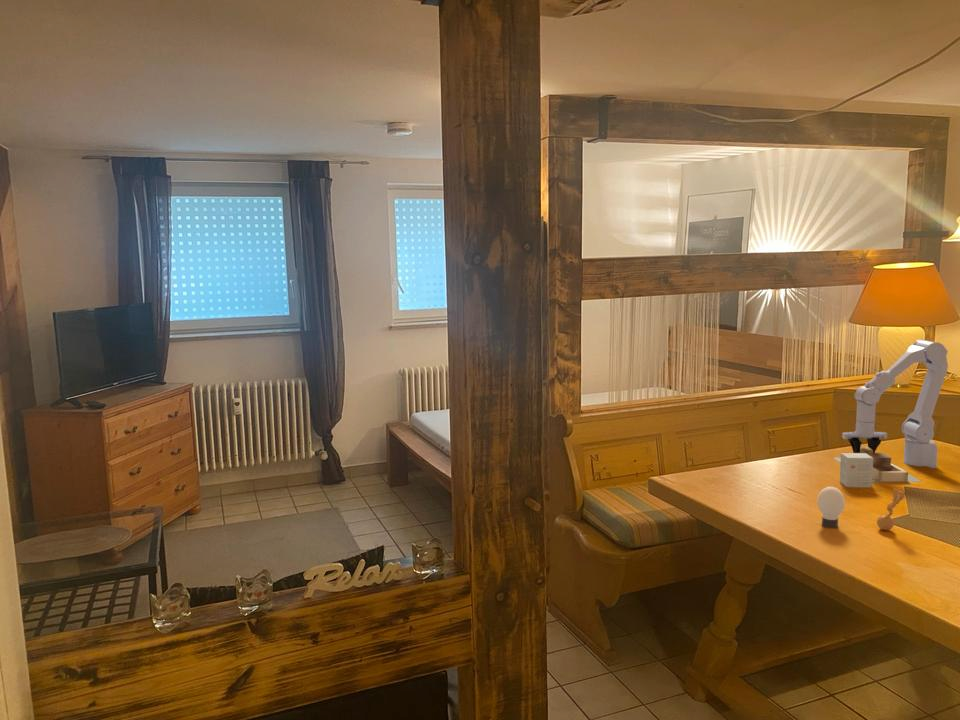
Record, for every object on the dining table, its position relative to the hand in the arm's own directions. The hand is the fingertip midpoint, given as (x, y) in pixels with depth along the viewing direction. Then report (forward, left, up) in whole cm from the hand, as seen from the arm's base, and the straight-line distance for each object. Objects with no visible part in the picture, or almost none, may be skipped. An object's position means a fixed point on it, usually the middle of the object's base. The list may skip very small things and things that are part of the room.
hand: (863, 458), depth 248 cm
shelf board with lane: (-1, +6, -3) cm, 7 cm away
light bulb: (+35, +56, -3) cm, 66 cm away
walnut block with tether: (0, +6, -1) cm, 6 cm away
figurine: (+21, +60, -3) cm, 63 cm away
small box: (+13, +23, -3) cm, 26 cm away
